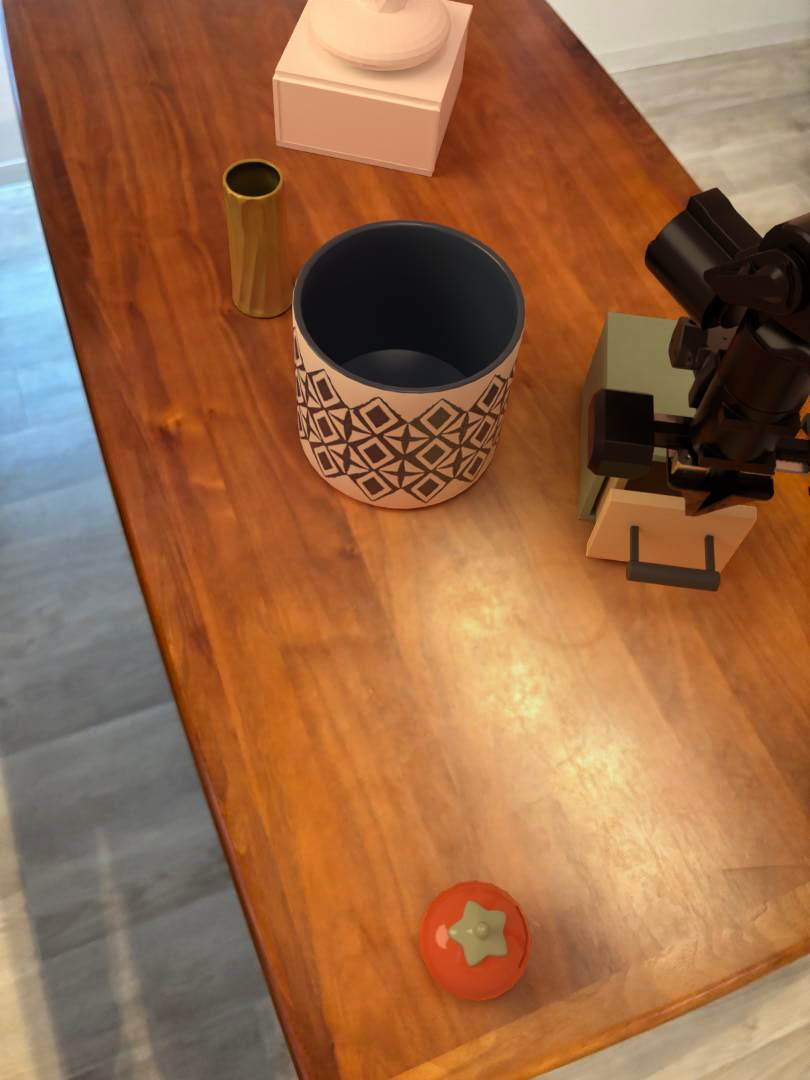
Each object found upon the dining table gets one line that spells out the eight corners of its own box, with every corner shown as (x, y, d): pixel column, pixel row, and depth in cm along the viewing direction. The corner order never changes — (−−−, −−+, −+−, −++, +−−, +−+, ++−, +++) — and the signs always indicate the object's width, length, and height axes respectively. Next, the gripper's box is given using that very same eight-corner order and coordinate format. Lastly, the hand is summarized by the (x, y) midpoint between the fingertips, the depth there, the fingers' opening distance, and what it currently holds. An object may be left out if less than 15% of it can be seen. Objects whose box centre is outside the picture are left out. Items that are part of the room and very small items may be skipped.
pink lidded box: (276, 146, 110) (267, 6, 96) (319, 49, 119) (317, -91, 106) (432, 177, 109) (446, 41, 95) (464, 77, 118) (480, -61, 104)
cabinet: (721, 537, 88) (765, 469, 79) (578, 519, 88) (606, 448, 79) (713, 406, 95) (754, 329, 86) (582, 389, 95) (607, 311, 86)
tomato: (524, 1008, 68) (546, 994, 61) (414, 1006, 68) (423, 992, 61) (519, 893, 72) (539, 868, 65) (415, 891, 71) (423, 866, 64)
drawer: (722, 624, 82) (761, 573, 75) (584, 607, 83) (609, 554, 75) (713, 445, 92) (747, 383, 84) (589, 429, 92) (611, 366, 84)
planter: (294, 354, 95) (287, 219, 81) (483, 349, 97) (509, 216, 83) (302, 517, 86) (295, 398, 72) (510, 508, 88) (544, 389, 74)
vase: (224, 282, 100) (208, 163, 87) (282, 267, 101) (275, 147, 89) (244, 326, 97) (230, 209, 85) (303, 309, 98) (299, 192, 86)
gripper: (896, 300, 66) (803, 440, 80) (616, 266, 67) (569, 411, 80) (922, 435, 61) (816, 561, 74) (615, 397, 61) (565, 530, 74)
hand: (689, 510), depth 76 cm, fingers closed
